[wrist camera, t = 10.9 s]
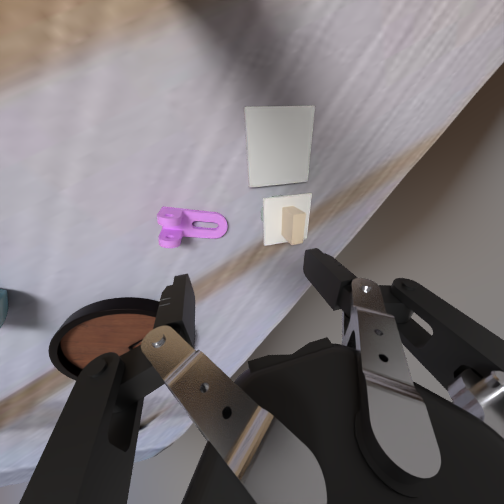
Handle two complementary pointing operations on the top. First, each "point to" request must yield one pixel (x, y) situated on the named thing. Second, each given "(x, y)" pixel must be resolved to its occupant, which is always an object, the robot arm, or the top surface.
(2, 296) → the flower pot
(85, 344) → the wall clock
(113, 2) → the top surface
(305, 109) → the mat
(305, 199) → the cover
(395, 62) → the top surface
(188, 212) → the bracket
